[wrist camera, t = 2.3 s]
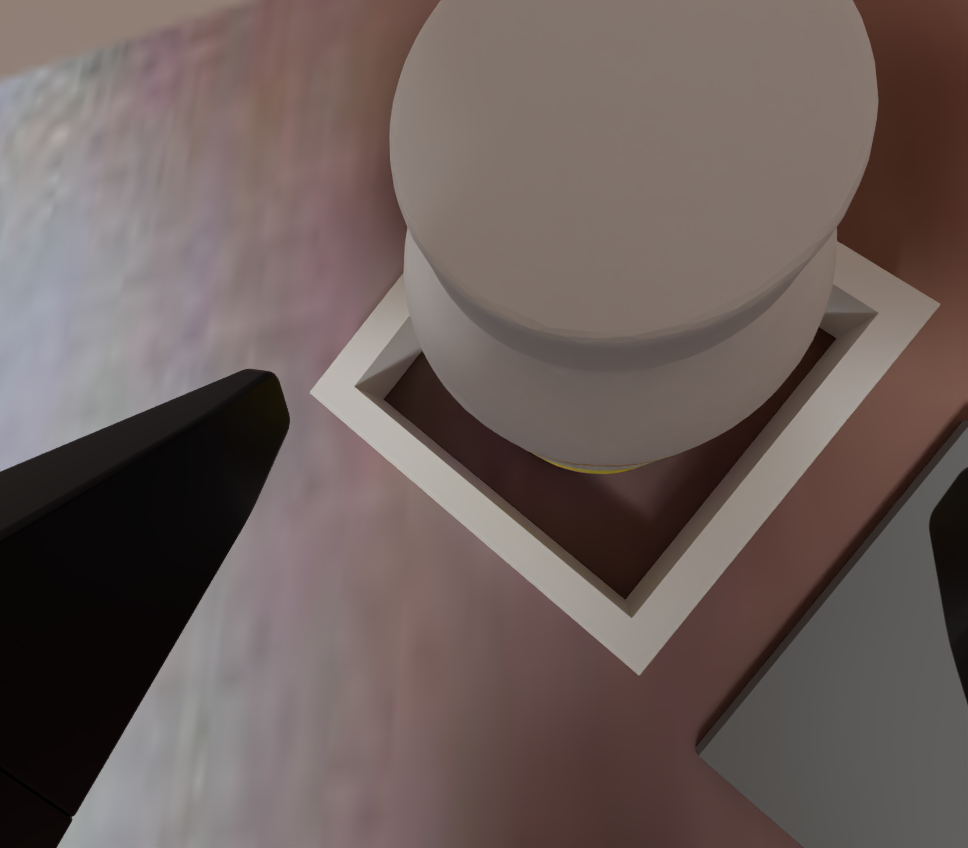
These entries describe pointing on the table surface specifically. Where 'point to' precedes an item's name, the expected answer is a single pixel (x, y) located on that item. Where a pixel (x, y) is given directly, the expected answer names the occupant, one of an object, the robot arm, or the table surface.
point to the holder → (721, 518)
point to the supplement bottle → (626, 210)
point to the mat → (862, 698)
